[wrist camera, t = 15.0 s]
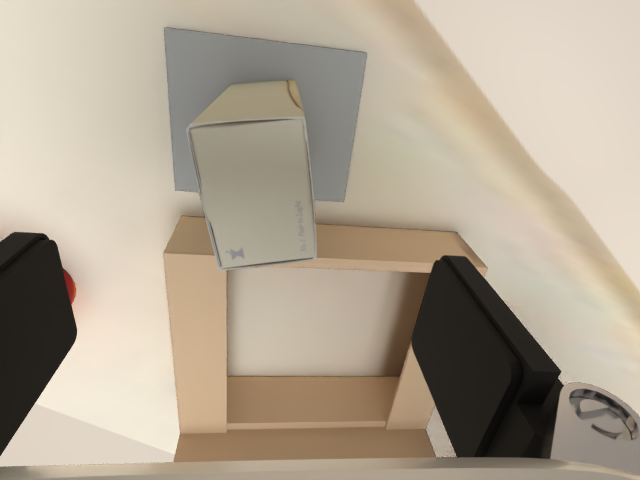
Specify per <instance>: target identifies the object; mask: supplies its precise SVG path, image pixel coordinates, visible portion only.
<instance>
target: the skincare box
mask: <svg viewBox="0 0 640 480" xmlns="http://www.w3.org/2000/svg"><path fill="white" fill-rule="evenodd" d="M186 133H187V138H188V143H189V148H190V153H191V158H192V163H193V167H194V171H195V176H196V181H197V185H198V190H199V195H200V199H201V203H202V207H203V211H204V215H205V219H206V223H207V227H208V231H209V235H210V239H211V242H212V246H213V250H214V254H215V257H216V261H217V266H218V269H219V270H220V271H223V270H231V269H244V268H253V267H263V266H272V265H282V264H290V263H298V262H305V261H312V260H315V259H316V258H317V241H316V221H315V208H314V196H313V184H312V174H311V164H310V154H309V145H308V137H307V128H306V120H305V116H304V112H303V108H302V103H301V99H300V95H299V91H298V87H297V83H296V81H295V80H286V81H267V82H254V83H242V84H232V85H230V86H229V87H228V88H227V89H226V90H225V91H224V92H223V93H222V94H221V95H220V96H219V97H218V98H217V99H216V100H215V101H214V102H213V103H211V105H209V106H208V107H207V108H206V109H205V110H204V111H203V112H202V113H201V114H200V115H199V116H198V117H197V118H196V119H195V120H194V121H193V122H192V123H191V124H189V125H188V127H187V129H186Z"/></svg>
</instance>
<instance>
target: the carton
mask: <svg viewBox="0 0 640 480" xmlns="http://www.w3.org/2000/svg"><path fill="white" fill-rule="evenodd" d="M316 241H317V258H316V259H315V260H312V261H305V262H298V263H290V264H282V265H272V266H279V267H303V268H327V269H351V270H374V271H398V272H422V273H431V270H432V267H433V264H434V262H435V261H436V260H440V258H441V257H442V256H444V255H452V256H466V257H467V258H468V259H469V260H470V261H471V263H472V264H473V265H474V266H475V267H476V269H477V270H478V271H479V272H480V274H481V275H482V276H483V277H484V276H485V274H486V271H487V269H488V268H487V266H486V265H485V264H484V263H483V262H482V261H481V260H480V258H479V257H478V256H477V255H476V254H475V253H474V252H473V250H472V249H471V248H470V247H469V246H468V245H467V243H466V242H465V241H464V240H463V239H462V238H461V237H460V235H459V234H458V233H457V232H444V231H427V230H410V229H393V228H376V227H359V226H342V225H325V224H316ZM163 257H164V267H165V278H166V289H167V299H168V310H169V321H170V331H171V342H172V353H173V364H174V374H175V385H176V396H177V406H178V417H179V428H180V436H179V440H178V445H177V449H176V453H175V457H174V462H211V461H258V460H307V459H369V458H433V457H436V455H435V453H434V450H433V447H432V445H431V442H430V439H429V437H428V434H427V431H426V427H427V424H428V422H429V419H430V417H431V414H432V411H433V409H434V406H435V403H434V400H433V398H432V395H431V393H430V391H429V388H428V386H427V383H426V381H425V379H424V376H423V374H422V371H421V369H420V367H419V364H418V362H417V359H416V357H415V355H414V352H413V349H412V345H411V342H410V346H409V349H408V352H407V356H406V359H405V362H404V365H403V369H402V372H401V375H400V377H227V270H223V271H220V270H219V269H218V266H217V261H216V257H215V254H214V250H213V246H212V242H211V239H210V235H209V231H208V227H207V223H206V219H205V217H188V216H181V218H180V220H179V222H178V224H177V226H176V228H175V230H174V232H173V234H172V237H171V239H170V241H169V243H168V245H167V247H166V249H165V251H164V253H163Z"/></svg>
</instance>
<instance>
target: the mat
mask: <svg viewBox="0 0 640 480" xmlns="http://www.w3.org/2000/svg"><path fill="white" fill-rule="evenodd" d="M164 36H165V51H166V65H167V79H168V94H169V108H170V123H171V137H172V151H173V166H174V180H175V191H189V192H199V190H198V185H197V181H196V176H195V171H194V167H193V163H192V158H191V153H190V148H189V143H188V138H187V133H186V129H187V127H188V125H189V124H191V123H192V122H193V121H194V120H195V119H196V118H197V117H198V116H199V115H200V114H201V113H202V112H203V111H204V110H205V109H206V108H207V107H208V106H209V105H211V103H213V102H214V101H215V100H216V99H217V98H218V97H219V96H220V95H221V94H222V93H223V92H224V91H225V90H226V89H227V88H228V87H229V86H230V85H232V84H242V83H254V82H267V81H286V80H295V81H296V83H297V87H298V91H299V95H300V99H301V103H302V108H303V112H304V116H305V120H306V128H307V137H308V145H309V154H310V164H311V174H312V184H313V196H314V200H322V201H337V202H344V198H345V192H346V186H347V179H348V173H349V167H350V160H351V154H352V147H353V141H354V135H355V128H356V122H357V116H358V109H359V103H360V97H361V90H362V84H363V77H364V71H365V65H366V58H367V53H365V52H357V51H349V50H341V49H333V48H325V47H317V46H309V45H301V44H293V43H285V42H277V41H269V40H261V39H253V38H245V37H237V36H229V35H221V34H213V33H205V32H197V31H189V30H181V29H173V28H164Z"/></svg>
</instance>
